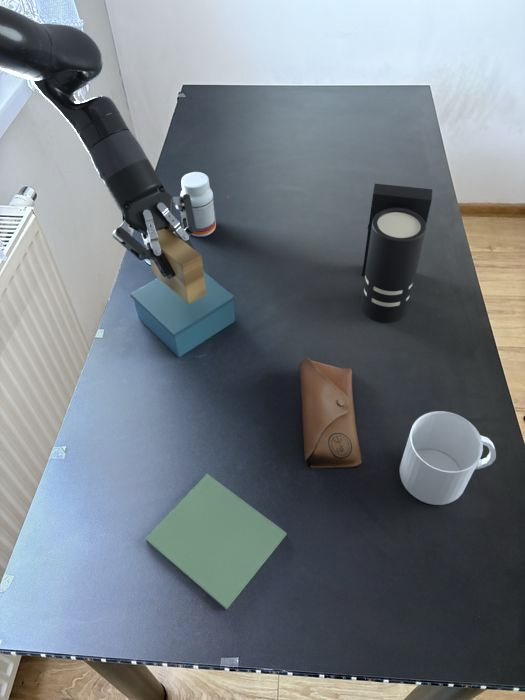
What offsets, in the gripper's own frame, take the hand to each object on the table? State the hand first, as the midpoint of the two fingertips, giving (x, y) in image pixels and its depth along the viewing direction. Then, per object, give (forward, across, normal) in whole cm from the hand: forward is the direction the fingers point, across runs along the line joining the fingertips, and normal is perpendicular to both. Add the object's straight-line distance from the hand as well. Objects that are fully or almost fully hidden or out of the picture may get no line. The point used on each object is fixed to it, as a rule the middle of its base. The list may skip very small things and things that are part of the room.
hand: (183, 270), depth 92 cm
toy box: (+8, 0, +10) cm, 13 cm away
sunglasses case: (+29, +4, -11) cm, 32 cm away
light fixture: (+21, +30, -3) cm, 37 cm away
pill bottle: (-5, +17, +23) cm, 30 cm away
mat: (+32, -20, -14) cm, 40 cm away
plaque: (+1, 0, +4) cm, 4 cm away
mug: (+42, +9, -24) cm, 49 cm away
